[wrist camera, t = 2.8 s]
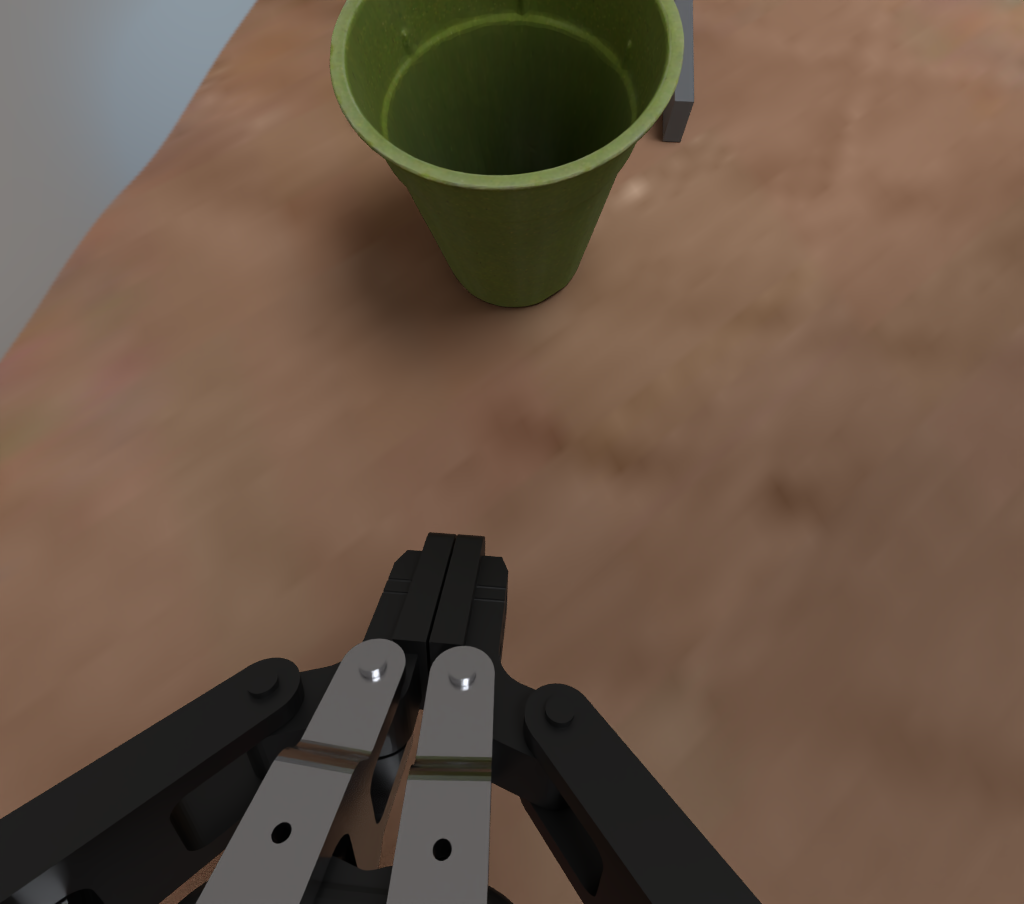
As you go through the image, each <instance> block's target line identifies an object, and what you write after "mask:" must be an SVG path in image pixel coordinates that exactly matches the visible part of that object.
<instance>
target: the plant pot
mask: <svg viewBox="0 0 1024 904" xmlns="http://www.w3.org/2000/svg"><path fill="white" fill-rule="evenodd" d="M683 55H684V33H683V27H682V22H681V18H680V15H679V11H678V9H677V6H676V4H675V2H674V0H347V1H346V3H345V5H344V7H343V9H342V11H341V13H340V15H339V17H338V20H337V22H336V25H335V27H334V31H333V35H332V40H331V49H330V74H331V81H332V85H333V89H334V93H335V96H336V98H337V101H338V103H339V105H340V108H341V110H342V112H343V114H344V115H345V117H346V118H347V120H348V122H349V123H350V125H351V126H352V128H353V129H354V130H355V131H356V133H357V134H358V135H359V136H360V138H361V139H362V140H363V141H364V142H365V143H366V144H367V145H368V146H369V147H370V148H371V149H372V150H374V151H375V152H376V153H378V154H379V155H380V156H382V157H383V158H384V159H385V160H386V161H387V163H388V165H389V166H390V168H391V169H392V171H393V172H394V174H395V175H396V176H397V177H398V179H399V180H400V181H401V182H402V183H403V184H404V185H405V186H406V187H407V189H408V190H409V192H410V194H411V196H412V198H413V200H414V202H415V204H416V205H417V207H418V209H419V211H420V213H421V215H422V216H423V218H424V220H425V222H426V224H427V225H428V227H429V229H430V231H431V233H432V235H433V236H434V238H435V240H436V242H437V244H438V246H439V248H440V249H441V251H442V253H443V255H444V257H445V259H446V260H447V262H448V264H449V266H450V268H451V270H452V271H453V273H454V275H455V276H456V278H457V279H458V280H459V281H460V283H461V284H462V285H463V286H464V287H465V288H466V289H467V290H468V291H469V292H470V293H471V294H473V295H474V296H476V297H477V298H479V299H481V300H483V301H486V302H488V303H491V304H494V305H498V306H504V307H523V306H529V305H533V304H536V303H539V302H541V301H543V300H544V299H546V298H548V297H549V296H551V295H553V294H554V293H556V292H557V291H559V290H560V289H562V288H564V287H565V286H566V285H567V284H568V282H569V281H570V280H571V279H572V277H573V276H574V274H575V272H576V270H577V268H578V266H579V263H580V261H581V259H582V256H583V254H584V251H585V249H586V247H587V245H588V242H589V240H590V238H591V235H592V233H593V230H594V228H595V226H596V223H597V221H598V218H599V216H600V214H601V211H602V209H603V207H604V204H605V202H606V199H607V197H608V195H609V192H610V190H611V188H612V185H613V183H614V181H615V178H616V176H617V174H618V172H619V171H620V170H621V169H622V167H623V166H624V164H625V163H626V161H627V160H628V158H629V156H630V154H631V152H632V150H633V148H634V146H635V144H636V142H637V141H638V140H640V139H641V138H642V137H643V136H644V135H645V134H646V133H647V132H648V131H649V130H650V128H651V127H652V126H653V125H654V124H655V122H656V121H657V120H658V118H659V117H660V115H661V114H662V112H663V111H664V109H665V108H666V106H667V105H668V103H669V101H670V99H671V97H672V95H673V93H674V91H675V89H676V86H677V83H678V80H679V76H680V73H681V69H682V63H683Z"/></svg>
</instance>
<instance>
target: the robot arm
mask: <svg viewBox="0 0 1024 904" xmlns="http://www.w3.org/2000/svg"><path fill="white" fill-rule="evenodd" d="M507 587H508V570H507V568H506V565H505V563H504V561H503V559H502V557H494V556H485V536H473V535H460V534H458V535H456V534H445V533H431V532H430V533H429V534H428V536H427V538H426V541H425V544H424V547H423V550H422V551H414V550H407V551H406V552H405V553H404V554H403V555H402V556H401V557H400V558H399V559H398V560H397V561H396V562H395V563H394V566H393V568H392V571H391V573H390V576H389V580H388V581H387V583H386V586H385V588H384V592H383V593H382V596H381V598H380V600H379V603H378V605H377V608H376V610H375V613H374V615H373V618H372V620H371V623H370V625H369V628H368V630H367V633H366V635H365V638H364V640H363V642H362V643H360V644H358V645H356V646H355V647H353V648H352V649H351V650H350V651H349V652H348V653H347V654H346V655H345V656H344V658H343V660H342V661H341V662H339V663H337V664H335V665H332V666H328V667H324V668H319V669H314V670H309V671H304V672H299V670H298V668H297V666H296V665H295V664H294V663H293V662H291V661H290V660H287V659H284V658H269V659H264V660H261V661H258V662H256V663H254V664H252V665H250V666H248V667H247V668H245V669H244V670H242V671H240V672H239V673H237V674H235V675H234V676H232V677H231V678H229V679H227V680H226V681H224V682H222V683H221V684H219V685H218V686H216V687H214V688H213V689H211V690H209V691H208V692H206V693H205V694H203V695H201V696H200V697H198V698H196V699H195V700H193V701H192V702H190V703H188V704H187V705H185V706H183V707H182V708H180V709H179V710H177V711H175V712H174V713H172V714H170V715H169V716H167V717H166V718H164V719H162V720H161V721H159V722H157V723H156V724H154V725H153V726H151V727H149V728H148V729H146V730H145V731H143V732H141V733H140V734H138V735H136V736H135V737H133V738H132V739H130V740H128V741H127V742H125V743H123V744H122V745H120V746H119V747H117V748H115V749H114V750H112V751H110V752H109V753H107V754H106V755H104V756H102V757H101V758H99V759H97V760H96V761H94V762H93V763H91V764H89V765H88V766H86V767H84V768H83V769H81V770H80V771H78V772H76V773H75V774H73V775H71V776H70V777H68V778H67V779H65V780H63V781H62V782H60V783H58V784H57V785H55V786H54V787H52V788H50V789H49V790H47V791H45V792H44V793H42V794H41V795H39V796H37V797H36V798H34V799H32V800H31V801H29V802H28V803H26V804H24V805H23V806H21V807H19V808H18V809H16V810H15V811H13V812H11V813H10V814H8V815H6V816H5V817H3V818H2V819H0V904H159V903H160V902H161V901H163V900H164V899H165V898H166V897H167V896H169V895H170V894H171V893H172V892H173V891H175V890H176V889H177V888H178V887H180V886H181V885H182V884H183V883H184V882H186V881H187V880H188V879H189V878H191V877H192V876H193V875H194V874H195V873H197V872H198V871H199V870H200V869H201V868H203V867H204V866H205V865H206V864H208V863H209V862H210V861H211V860H212V859H214V858H215V857H216V856H217V855H218V854H220V853H221V852H222V851H223V850H225V851H224V853H223V855H222V856H221V858H220V860H219V862H218V864H217V866H216V867H215V869H214V871H213V873H212V875H211V877H210V878H209V880H208V881H207V882H205V883H204V884H202V885H201V886H199V887H198V888H197V889H195V890H194V891H193V892H191V893H190V894H189V895H187V896H186V897H185V898H184V899H183V900H181V901H180V902H179V903H178V904H513V903H512V902H511V901H510V900H509V899H508V898H506V897H505V896H504V895H503V894H501V893H500V892H498V891H497V890H495V889H494V888H492V887H490V886H488V880H489V847H490V815H491V784H492V783H494V784H496V785H498V786H500V787H502V788H504V789H506V790H508V791H510V792H512V793H514V794H516V795H518V796H519V797H520V799H521V802H522V804H523V806H524V808H525V810H526V811H527V813H528V815H529V816H530V818H531V819H532V821H533V823H534V824H535V826H536V828H537V829H538V831H539V832H540V834H541V836H542V837H543V839H544V840H545V842H546V844H547V845H548V847H549V849H550V850H551V852H552V853H553V855H554V857H555V858H556V860H557V861H558V863H559V865H560V866H561V868H562V869H563V871H564V873H565V874H566V876H567V878H568V879H569V881H570V882H571V884H572V886H573V887H574V889H575V890H576V892H577V894H578V895H579V897H580V899H581V900H582V902H583V903H584V904H761V902H760V901H759V900H758V899H757V898H756V897H755V895H754V894H753V893H752V892H751V891H750V889H749V888H748V887H747V886H746V885H745V884H744V882H743V881H742V880H741V879H740V878H739V877H738V875H737V874H736V873H735V872H734V871H733V870H732V868H731V867H730V866H729V865H728V864H727V863H726V861H725V860H724V859H723V858H722V857H721V855H720V854H719V853H718V852H717V851H716V850H715V848H714V847H713V846H712V845H711V844H710V843H709V841H708V840H707V839H706V838H705V837H704V836H703V834H702V833H701V832H700V831H699V830H698V829H697V827H696V826H695V825H694V824H693V823H692V822H691V820H690V819H689V818H688V817H687V816H686V814H685V813H684V812H683V811H682V810H681V809H680V807H679V806H678V805H677V804H676V803H675V802H674V800H673V799H672V798H671V797H670V796H669V795H668V793H667V792H666V791H665V790H664V789H663V788H662V786H661V785H660V784H659V783H658V782H657V780H656V779H655V778H654V777H653V776H652V775H651V773H650V772H649V771H648V770H647V769H646V768H645V766H644V765H643V764H642V763H641V762H640V761H639V759H638V758H637V757H636V756H635V755H634V754H633V752H632V751H631V750H630V749H629V748H628V747H627V745H626V744H625V743H624V742H623V741H622V739H621V738H620V737H619V736H618V735H617V734H616V732H615V731H614V730H613V729H612V728H611V727H610V725H609V724H608V723H607V722H606V721H605V720H604V718H603V717H602V716H601V715H600V714H599V713H598V711H597V710H596V709H595V708H594V707H593V705H592V704H591V703H590V702H589V701H588V700H587V698H586V697H585V696H584V695H583V694H582V693H580V692H579V691H578V690H576V689H574V688H573V687H570V686H568V685H564V684H548V685H544V686H542V687H540V688H538V689H537V690H535V689H532V688H530V687H527V686H525V685H523V684H521V683H519V682H517V681H515V680H514V679H512V678H511V677H510V676H509V675H508V674H507V673H506V671H505V670H504V669H503V667H502V665H501V658H502V648H503V639H504V629H505V621H506V612H507ZM419 709H423V710H424V711H423V717H422V724H421V730H420V736H419V742H418V749H417V755H416V760H415V763H414V765H411V768H410V771H409V775H408V779H407V785H406V791H405V796H404V802H403V808H402V814H401V820H400V826H399V832H398V838H397V844H396V850H395V856H394V862H393V866H389V867H384V868H380V869H378V867H379V862H380V856H381V848H382V840H383V835H384V831H385V827H386V824H387V821H388V818H389V815H390V811H391V808H392V805H393V802H394V799H395V796H396V793H397V790H398V787H399V784H400V781H401V777H402V774H403V771H404V768H405V765H406V762H407V759H408V756H409V753H410V750H411V747H412V743H413V730H414V727H415V723H416V719H417V715H418V711H419Z"/></svg>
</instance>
